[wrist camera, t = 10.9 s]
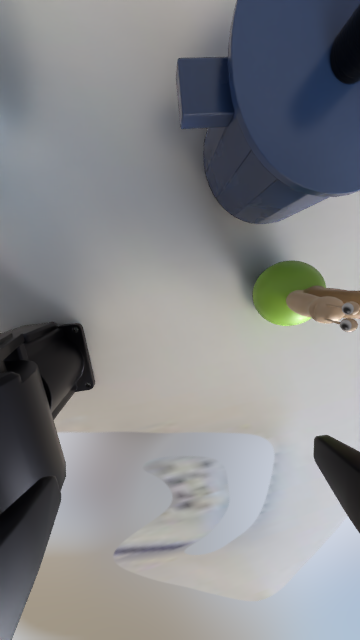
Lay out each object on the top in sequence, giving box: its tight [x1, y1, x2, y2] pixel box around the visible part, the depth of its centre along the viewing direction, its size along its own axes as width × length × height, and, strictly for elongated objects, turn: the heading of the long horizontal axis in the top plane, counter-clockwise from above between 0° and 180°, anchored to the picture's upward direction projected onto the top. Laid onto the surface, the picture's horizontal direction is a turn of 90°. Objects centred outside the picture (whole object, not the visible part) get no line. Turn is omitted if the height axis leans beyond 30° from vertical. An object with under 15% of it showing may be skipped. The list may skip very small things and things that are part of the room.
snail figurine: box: [253, 261, 360, 332], centre depth 14 cm, size 5×6×12 cm
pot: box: [176, 57, 328, 224], centre depth 13 cm, size 11×16×7 cm, turn 96°
